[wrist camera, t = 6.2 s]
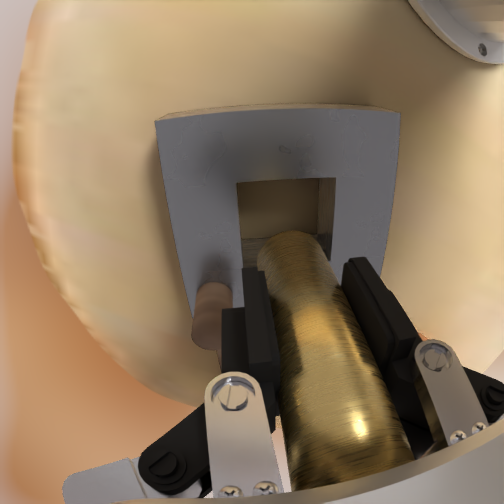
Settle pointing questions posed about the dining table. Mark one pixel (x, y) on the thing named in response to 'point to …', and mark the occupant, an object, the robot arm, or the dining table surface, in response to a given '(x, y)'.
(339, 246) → the collar block
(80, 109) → the dining table surface
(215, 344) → the brown drawer handle
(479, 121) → the dining table surface
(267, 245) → the pin
